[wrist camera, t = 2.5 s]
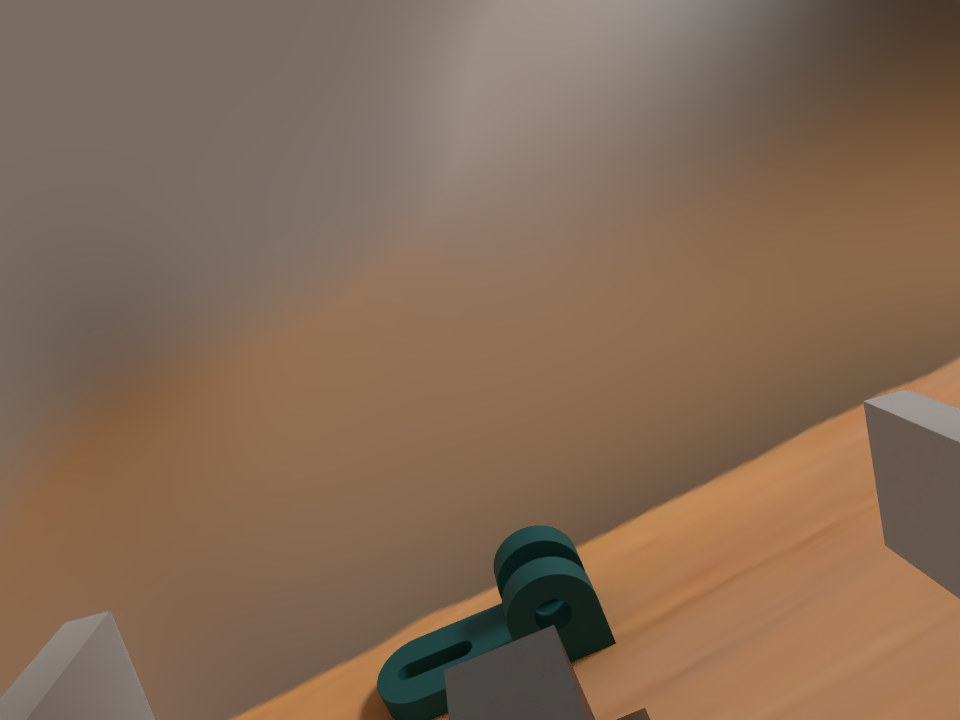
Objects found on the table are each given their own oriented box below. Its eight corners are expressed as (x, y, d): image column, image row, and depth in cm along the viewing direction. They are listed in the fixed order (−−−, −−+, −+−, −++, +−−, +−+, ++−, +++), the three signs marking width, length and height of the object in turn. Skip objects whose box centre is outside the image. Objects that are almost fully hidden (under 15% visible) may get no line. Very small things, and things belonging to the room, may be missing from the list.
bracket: (592, 591, 60) (560, 512, 58) (616, 645, 54) (582, 560, 52) (388, 675, 61) (348, 600, 58) (389, 739, 54) (343, 658, 52)
